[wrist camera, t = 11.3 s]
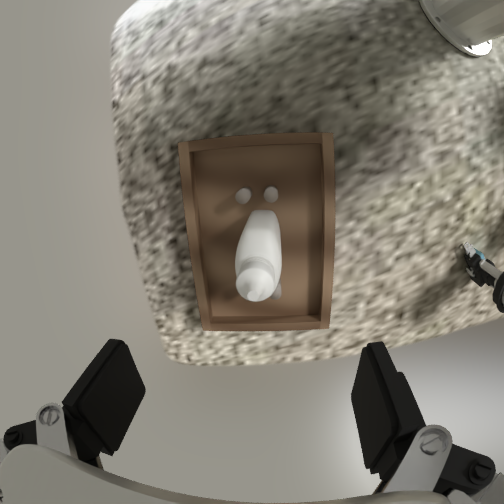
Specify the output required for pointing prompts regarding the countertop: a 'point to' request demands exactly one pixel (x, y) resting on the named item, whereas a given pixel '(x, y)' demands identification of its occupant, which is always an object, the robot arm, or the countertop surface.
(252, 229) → the eye dropper bottle
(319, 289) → the pin tray
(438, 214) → the countertop surface
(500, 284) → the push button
